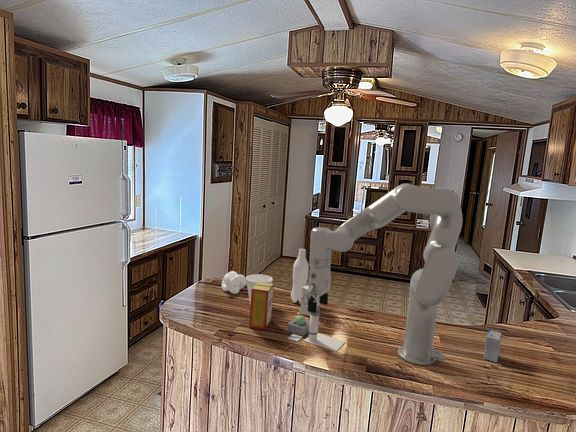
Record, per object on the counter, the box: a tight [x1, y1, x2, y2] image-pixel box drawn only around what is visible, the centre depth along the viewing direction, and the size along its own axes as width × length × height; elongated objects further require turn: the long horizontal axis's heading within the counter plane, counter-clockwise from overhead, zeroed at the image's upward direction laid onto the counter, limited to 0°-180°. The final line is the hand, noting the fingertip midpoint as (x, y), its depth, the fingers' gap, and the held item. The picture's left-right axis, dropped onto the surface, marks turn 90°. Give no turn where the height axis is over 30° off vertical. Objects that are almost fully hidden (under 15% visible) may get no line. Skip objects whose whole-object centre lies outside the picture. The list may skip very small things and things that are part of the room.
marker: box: [307, 308, 321, 342], centre depth 146 cm, size 3×3×12 cm
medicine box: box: [483, 329, 503, 363], centre depth 144 cm, size 8×4×9 cm, turn 148°
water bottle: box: [290, 248, 310, 304], centre depth 183 cm, size 7×7×25 cm
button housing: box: [286, 317, 310, 337], centre depth 154 cm, size 7×7×3 cm
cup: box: [245, 273, 274, 306], centre depth 176 cm, size 12×12×12 cm
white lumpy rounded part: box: [221, 270, 247, 295], centre depth 192 cm, size 11×12×9 cm
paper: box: [303, 332, 347, 352], centre depth 146 cm, size 13×9×1 cm
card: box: [287, 333, 303, 343], centre depth 147 cm, size 4×4×1 cm
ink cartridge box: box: [299, 284, 321, 317], centre depth 173 cm, size 9×5×15 cm, turn 143°
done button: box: [295, 314, 306, 326], centre depth 154 cm, size 3×3×4 cm
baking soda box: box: [248, 282, 275, 331], centre depth 156 cm, size 10×6×16 cm
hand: (317, 307), depth 145 cm, fingers open, 9 cm apart
